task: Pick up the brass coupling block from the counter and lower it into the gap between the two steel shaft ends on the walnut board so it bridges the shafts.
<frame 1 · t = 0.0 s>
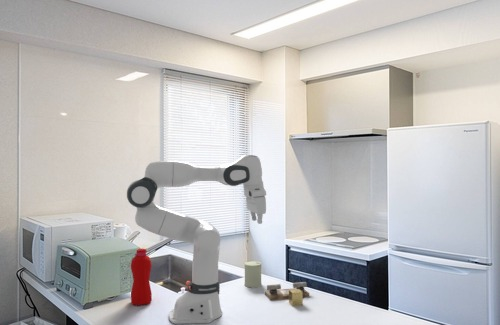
hand: (257, 221, 171), 39 cm above the countertop, tool pointing down, fingers open, 8 cm apart
can: (253, 285, 205), on the countertop
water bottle: (139, 303, 179), on the countertop
shaft mount: (286, 295, 189), on the countertop
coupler: (295, 304, 177), on the countertop
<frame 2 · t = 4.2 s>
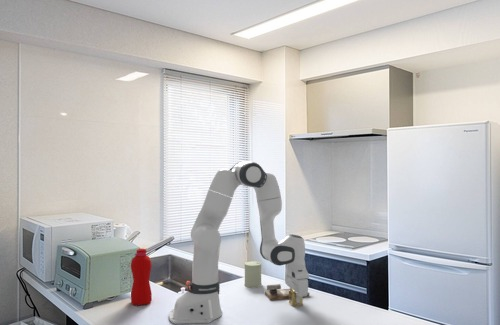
hand: (295, 299, 177), 2 cm above the countertop, tool pointing down, fingers closed on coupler, 4 cm apart
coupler: (295, 303, 177), on the countertop, touching gripper
everything else where it was.
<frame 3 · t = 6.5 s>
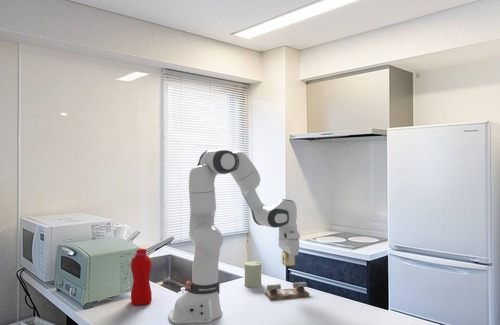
hand: (288, 260, 188), 17 cm above the countertop, tool pointing down, fingers closed on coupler, 4 cm apart
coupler: (288, 264, 188), point 16 cm above the countertop, touching gripper
everything else where it was.
when the fingers open (5 cm above the countertop, at t = 9.1 s): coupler drops 1 cm, resting on shaft mount.
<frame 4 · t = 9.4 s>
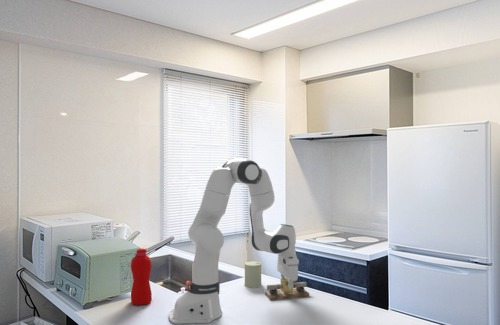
hand: (286, 285, 189), 5 cm above the countertop, tool pointing down, fingers open, 7 cm apart
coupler: (286, 292, 189), point 2 cm above the countertop, touching shaft mount
everything else where it was.
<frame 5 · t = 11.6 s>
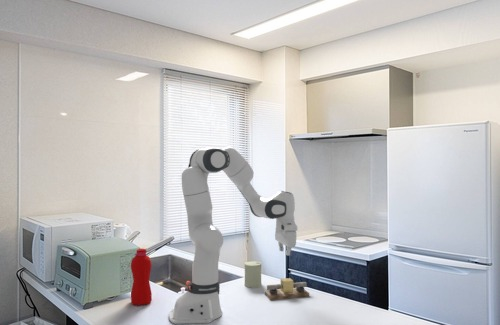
hand: (284, 253, 187), 21 cm above the countertop, tool pointing down, fingers open, 8 cm apart
nothing on the countertop moved.
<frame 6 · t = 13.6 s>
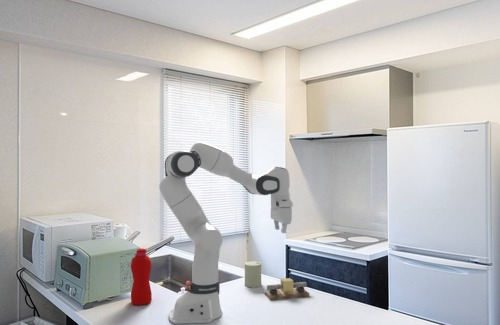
hand: (280, 231, 180), 33 cm above the countertop, tool pointing down, fingers open, 8 cm apart
nothing on the countertop moved.
at the end: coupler 0.0 cm off-centre on the shaft mount, point 1.6 cm above the shaft mount's base; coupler tilted 0°; the gripper is holding nothing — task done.
